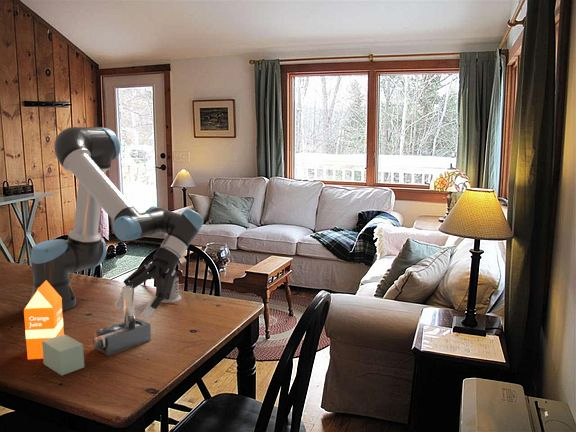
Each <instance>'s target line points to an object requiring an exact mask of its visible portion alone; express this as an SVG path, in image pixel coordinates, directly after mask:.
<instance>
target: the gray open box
mask: <svg viewBox="0 0 576 432" xmlns="http://www.w3.org/2000/svg"><path fill="white" fill-rule="evenodd" d="M135 324H140V325H139V326H136V327H133V328H130V329H127V330H124V331H121V332H118V333H115V334H112V335H109V336H106V337H105V348H102V349H100V350H98V351H99V352H101V353H102V354H104V355H106V356H108V357H110V356H111V355H114V354H115V355H116V354H117V353H119V352H120V353H121V352H122V351H125V350H128V349H130V348H133V347H136V346H139V345H142V344H144V343H146V342H149V341H152V337H151V336H152V335H151V333H152V331H151V323H149V322H147V321H145V320H142V319H139V318H138V317H135ZM122 328H124V321H123V322H120V323H116V324H114V325H111V326H107V327H105V328H101V329H99V330H96V331H93V339H94V338H95V337H98V336H101V335H104V334H107V333H110V332H113V331H116V330H119V329H122Z"/></svg>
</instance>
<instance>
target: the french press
mask: <svg viewBox="0 0 576 432" xmlns="http://www.w3.org/2000/svg"><path fill="white" fill-rule="evenodd" d="M167 236H168V234H165V233H163V238H166V237H167ZM179 289H180V288H179V276H178V273H177V274H176V276H175V278H174V281H173V286H172V290H171V294H170V298H169V299H168V300H166V299H164V300H162V301H161V302H160V303H164V304H165V303H167V304H168V303H175V302H178V301H180V300H182V296H181V295H180V293H179V292H180V291H179Z"/></svg>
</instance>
